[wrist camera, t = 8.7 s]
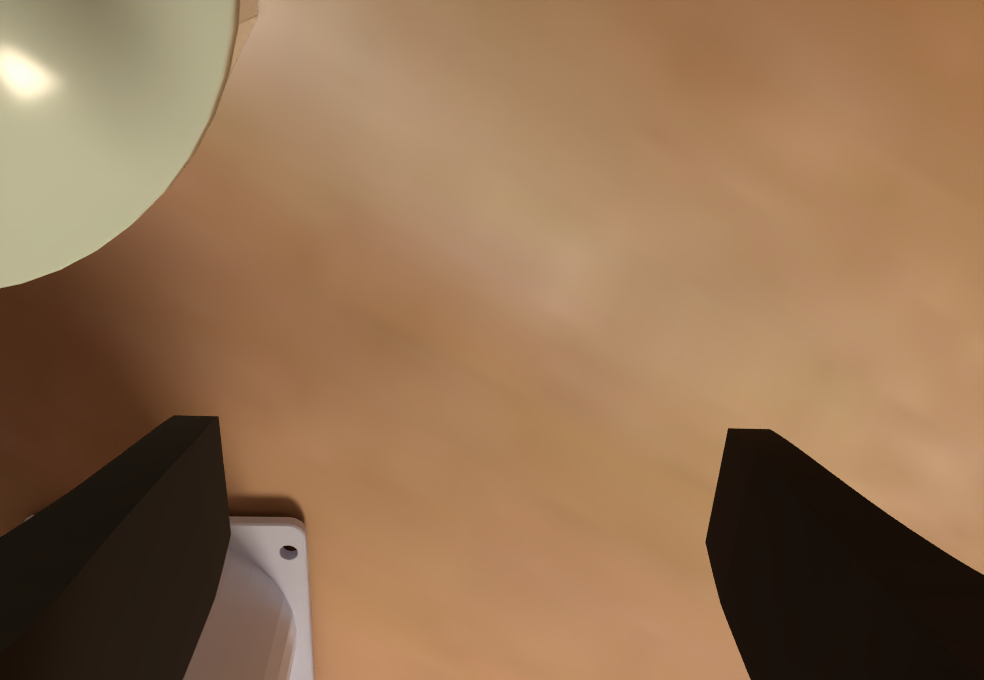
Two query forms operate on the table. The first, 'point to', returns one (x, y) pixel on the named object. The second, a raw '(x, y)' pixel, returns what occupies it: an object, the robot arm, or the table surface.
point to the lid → (99, 117)
